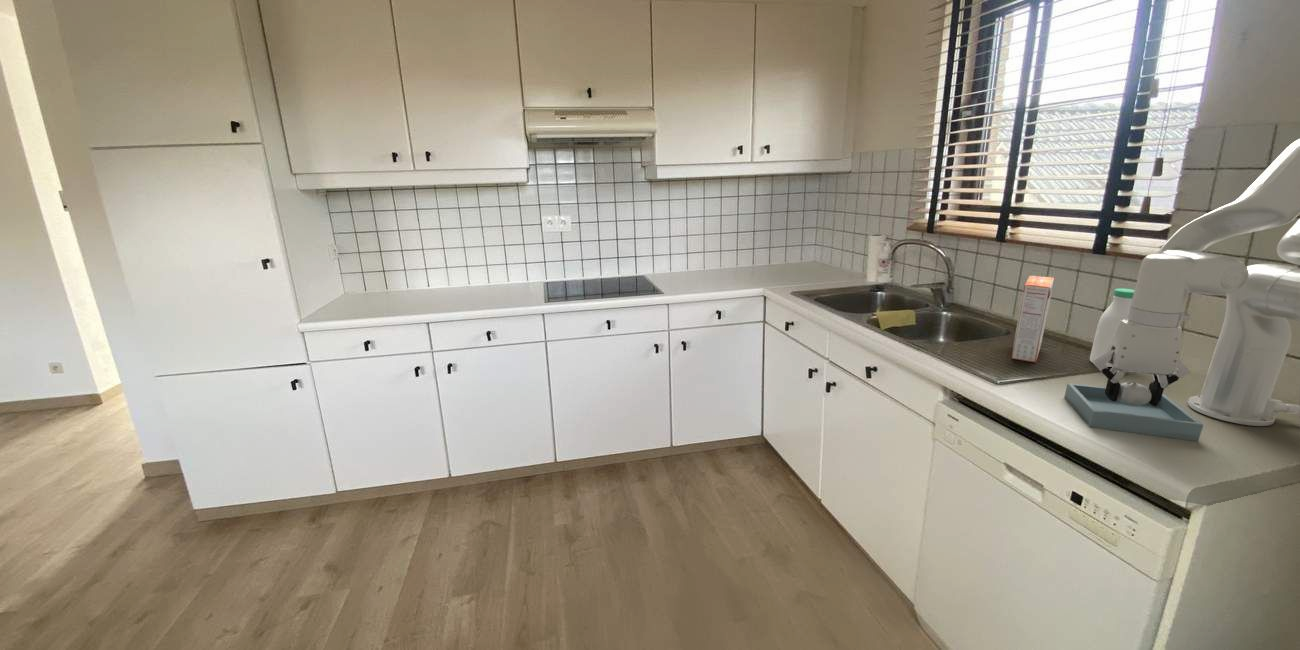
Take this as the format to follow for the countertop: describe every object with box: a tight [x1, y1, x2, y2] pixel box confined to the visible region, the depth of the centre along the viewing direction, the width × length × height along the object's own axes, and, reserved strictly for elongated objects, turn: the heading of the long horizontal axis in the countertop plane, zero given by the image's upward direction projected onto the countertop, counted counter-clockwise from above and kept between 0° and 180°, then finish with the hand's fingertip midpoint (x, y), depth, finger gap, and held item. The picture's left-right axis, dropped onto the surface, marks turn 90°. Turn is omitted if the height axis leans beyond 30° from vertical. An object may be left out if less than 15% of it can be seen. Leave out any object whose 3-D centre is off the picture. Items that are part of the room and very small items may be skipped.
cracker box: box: [1011, 275, 1055, 363], centre depth 144 cm, size 14×6×21 cm, turn 141°
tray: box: [1064, 382, 1204, 442], centre depth 110 cm, size 17×15×4 cm
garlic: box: [1117, 380, 1152, 406], centre depth 109 cm, size 6×5×5 cm
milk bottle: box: [1089, 287, 1135, 368], centre depth 136 cm, size 8×8×20 cm
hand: (1130, 400), depth 110 cm, fingers closed on garlic, 5 cm apart
